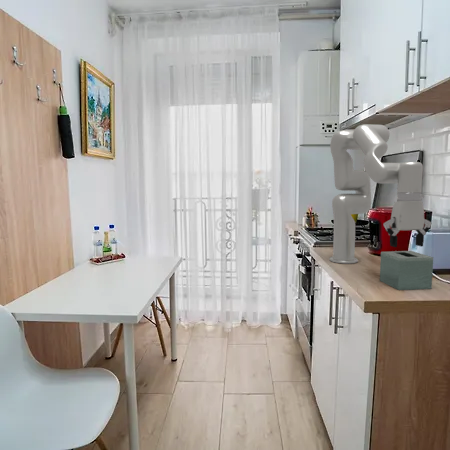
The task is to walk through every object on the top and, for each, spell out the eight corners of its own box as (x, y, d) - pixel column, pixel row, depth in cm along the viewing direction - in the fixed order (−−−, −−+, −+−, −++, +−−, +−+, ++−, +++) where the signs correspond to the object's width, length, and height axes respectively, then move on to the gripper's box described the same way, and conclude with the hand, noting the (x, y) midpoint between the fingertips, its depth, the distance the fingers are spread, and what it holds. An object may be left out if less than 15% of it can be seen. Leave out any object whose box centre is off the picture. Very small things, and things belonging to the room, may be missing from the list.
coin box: (379, 280, 131) (380, 251, 130) (410, 279, 132) (411, 250, 131) (398, 290, 119) (399, 258, 118) (431, 288, 120) (433, 257, 119)
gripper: (425, 197, 126) (422, 243, 128) (379, 197, 125) (377, 245, 127) (439, 197, 119) (436, 247, 121) (391, 198, 117) (389, 248, 119)
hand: (406, 246), depth 124 cm, fingers open, 9 cm apart
